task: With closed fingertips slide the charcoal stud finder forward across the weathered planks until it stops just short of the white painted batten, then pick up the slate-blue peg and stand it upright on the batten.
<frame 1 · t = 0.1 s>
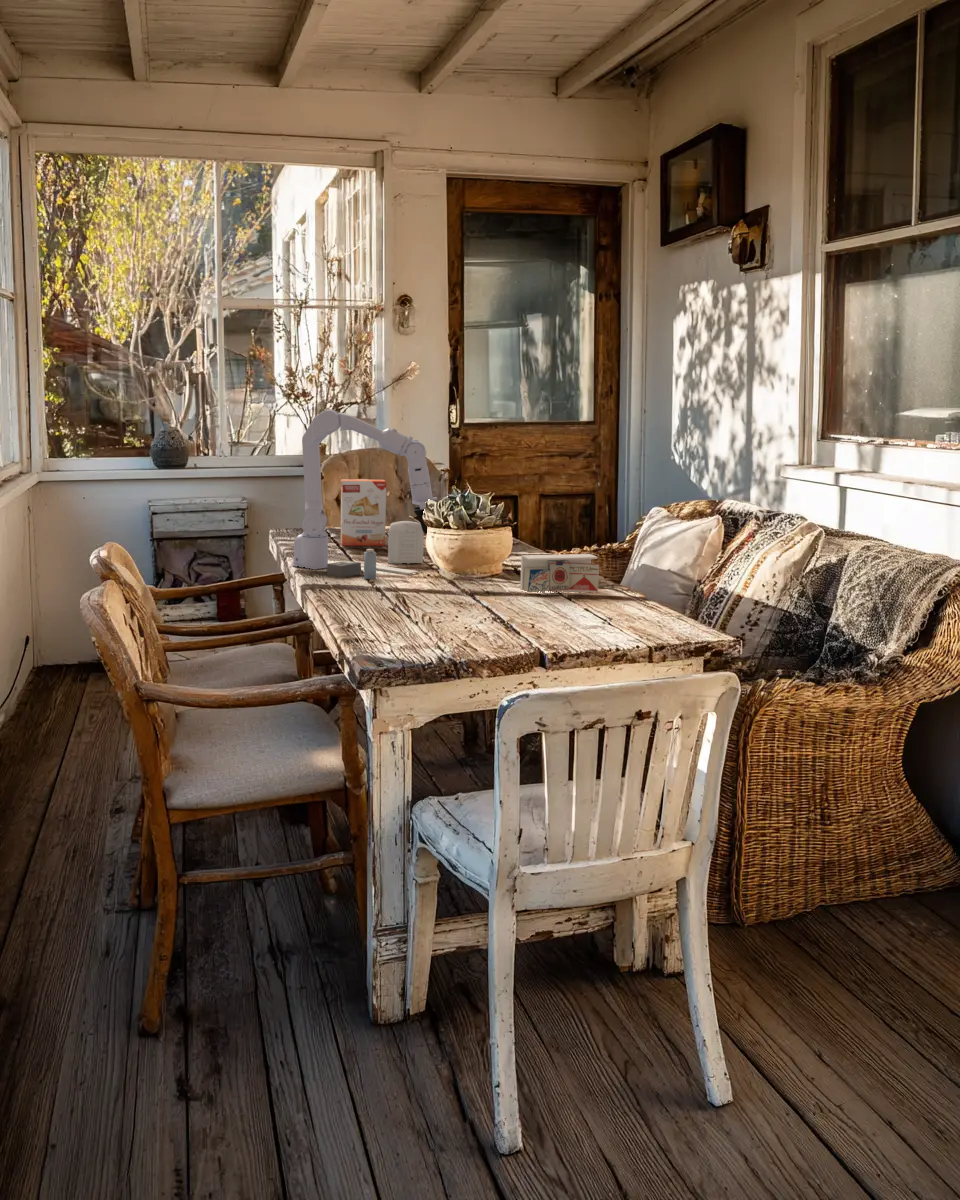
hand: (427, 531, 331), 11 cm above the table, tool pointing down, fingers open, 7 cm apart
cigarette display: (560, 592, 302), on the table
batten: (392, 570, 328), on the table
peg: (370, 578, 315), on the table
light grey rounded block: (405, 564, 341), on the table
finder: (344, 575, 319), on the table
cracker box: (363, 545, 376), on the table
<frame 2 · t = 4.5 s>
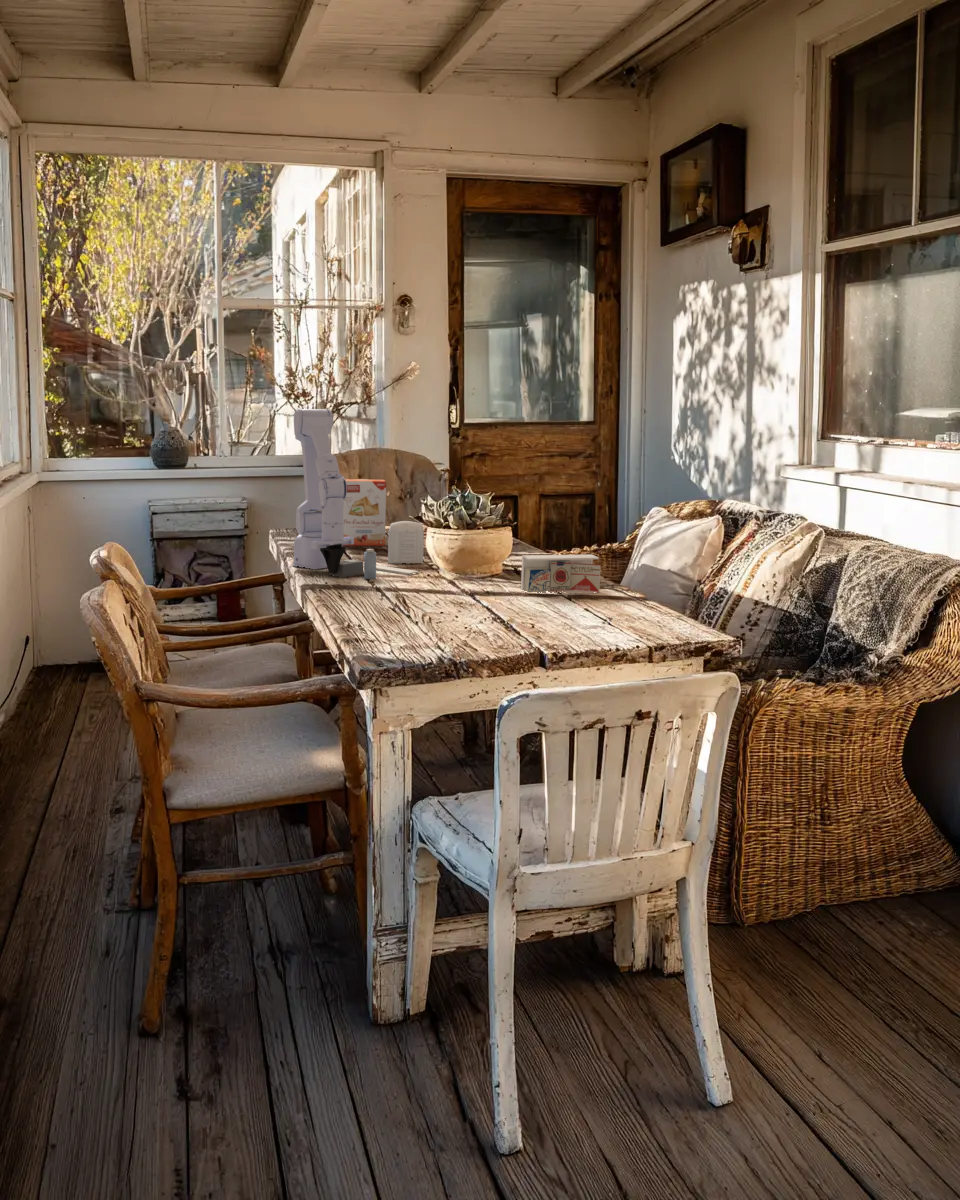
hand: (332, 573, 316), 1 cm above the table, tool pointing down, fingers closed
finder: (346, 574, 320), on the table, touching gripper
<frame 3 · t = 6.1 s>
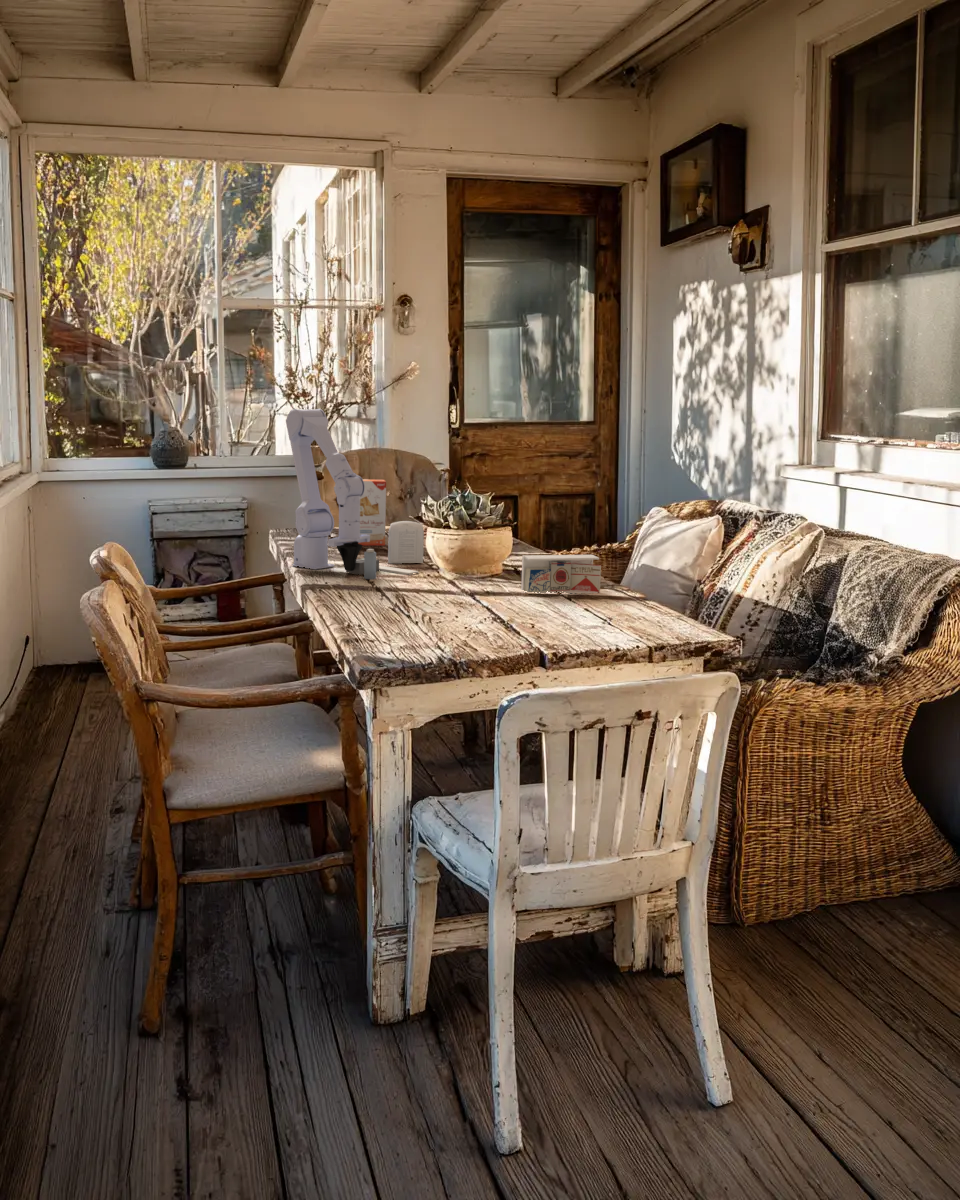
hand: (349, 570, 321), 1 cm above the table, tool pointing down, fingers closed
finder: (362, 572, 325), on the table
everything else where it was.
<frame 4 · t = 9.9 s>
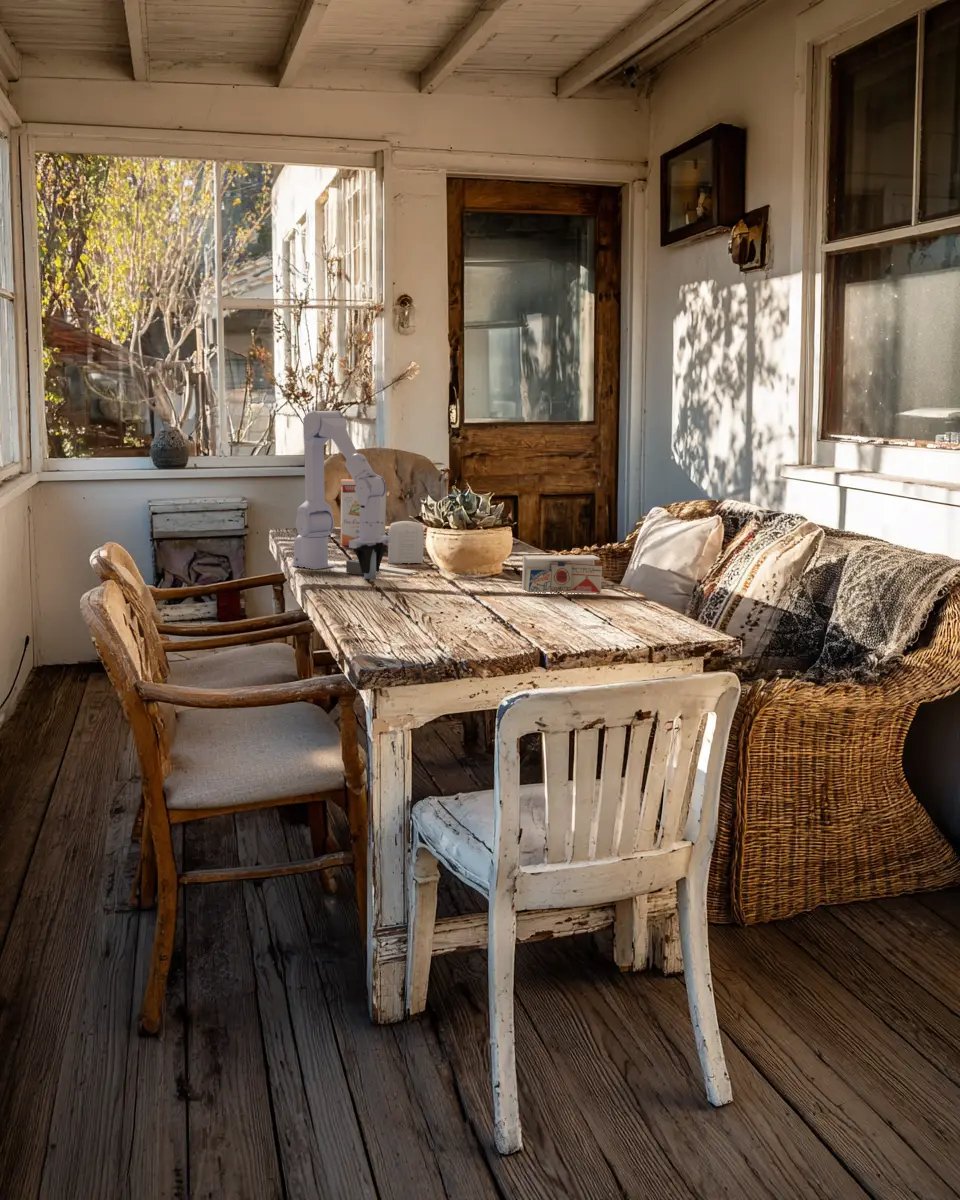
hand: (370, 572, 315), 2 cm above the table, tool pointing down, fingers closed on peg, 3 cm apart
peg: (370, 578, 315), on the table, touching gripper
when the fingers open (3 cm above the table, at t = 13.0 s): peg stays where it is, resting on batten.
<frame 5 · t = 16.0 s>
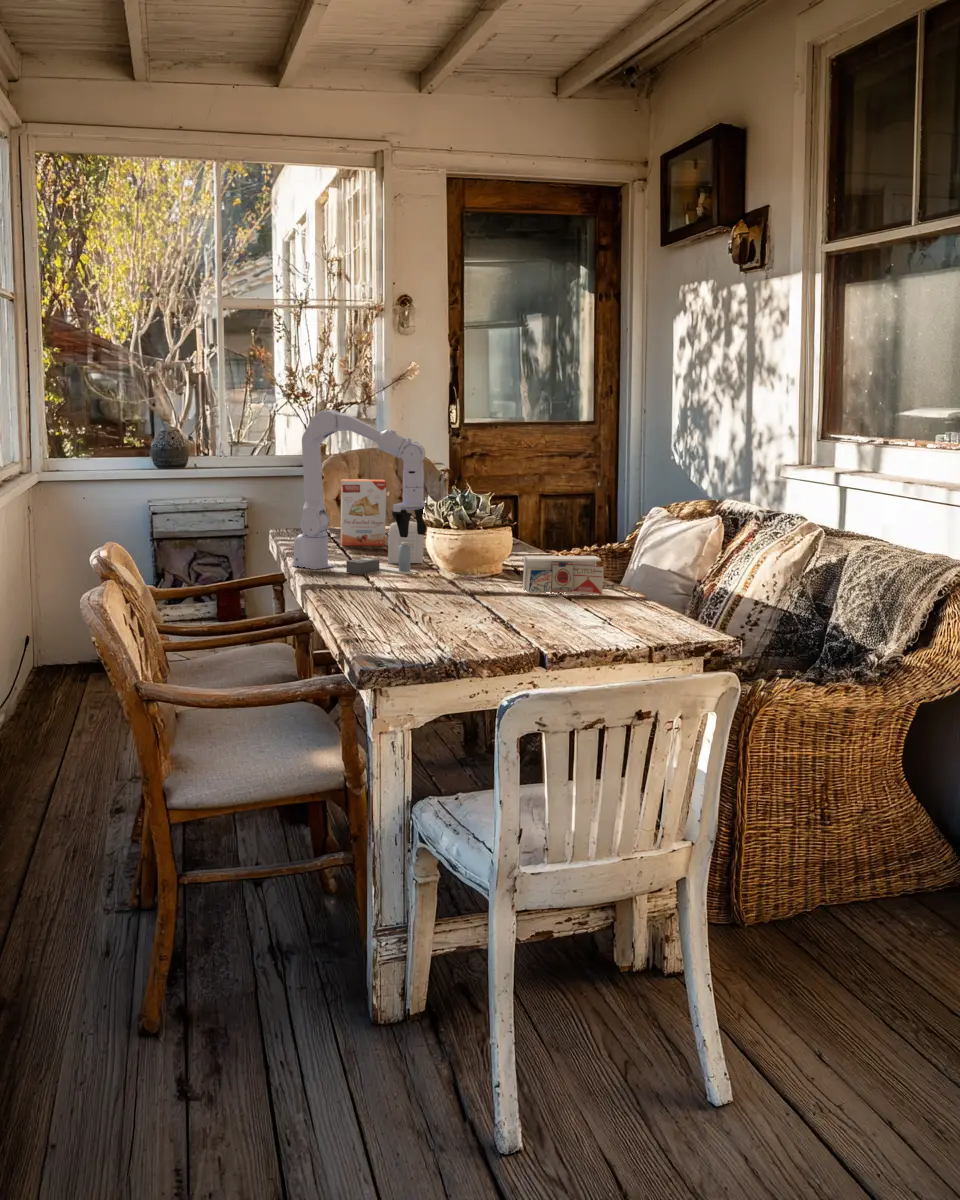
hand: (412, 535, 327), 10 cm above the table, tool pointing down, fingers open, 7 cm apart
peg: (404, 570, 325), point 1 cm above the table, touching batten
at the end: finder inside the target area (0.5 cm from its centre), on the table; peg 0.1 cm from the target spot on the batten, point 0.6 cm above the batten's base; peg tilted 0° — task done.
